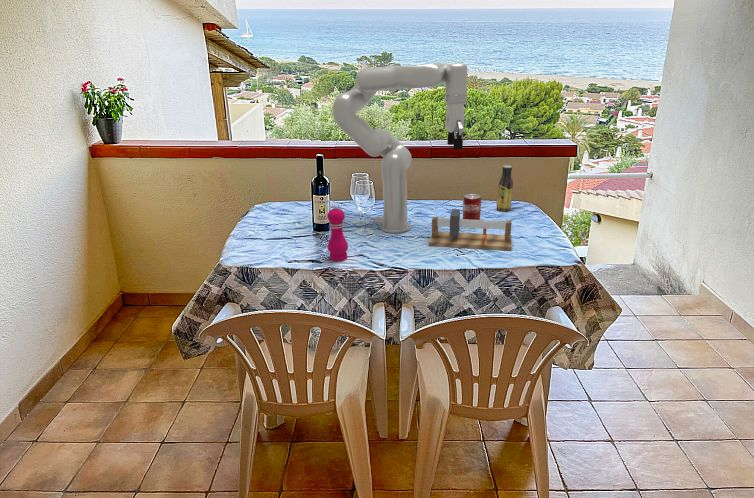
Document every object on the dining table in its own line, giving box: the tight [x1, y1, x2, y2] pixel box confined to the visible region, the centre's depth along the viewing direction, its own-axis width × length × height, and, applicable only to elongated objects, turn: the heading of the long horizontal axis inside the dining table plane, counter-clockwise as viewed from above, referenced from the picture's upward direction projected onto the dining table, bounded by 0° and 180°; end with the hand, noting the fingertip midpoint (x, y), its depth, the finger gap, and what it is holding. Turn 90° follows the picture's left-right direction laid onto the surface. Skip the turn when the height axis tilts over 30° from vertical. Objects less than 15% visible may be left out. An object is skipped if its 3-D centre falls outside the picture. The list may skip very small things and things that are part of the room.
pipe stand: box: [428, 216, 513, 252], centre depth 194 cm, size 30×12×9 cm, turn 77°
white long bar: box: [437, 217, 506, 230], centre depth 193 cm, size 25×2×2 cm, turn 77°
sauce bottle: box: [496, 164, 514, 212], centre depth 227 cm, size 7×6×20 cm
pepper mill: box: [327, 204, 349, 262], centre depth 181 cm, size 7×7×20 cm
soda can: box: [461, 193, 482, 220], centre depth 213 cm, size 7×7×12 cm
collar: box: [449, 208, 461, 237], centre depth 194 cm, size 3×8×8 cm, turn 167°
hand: (454, 146), depth 193 cm, fingers open, 9 cm apart
